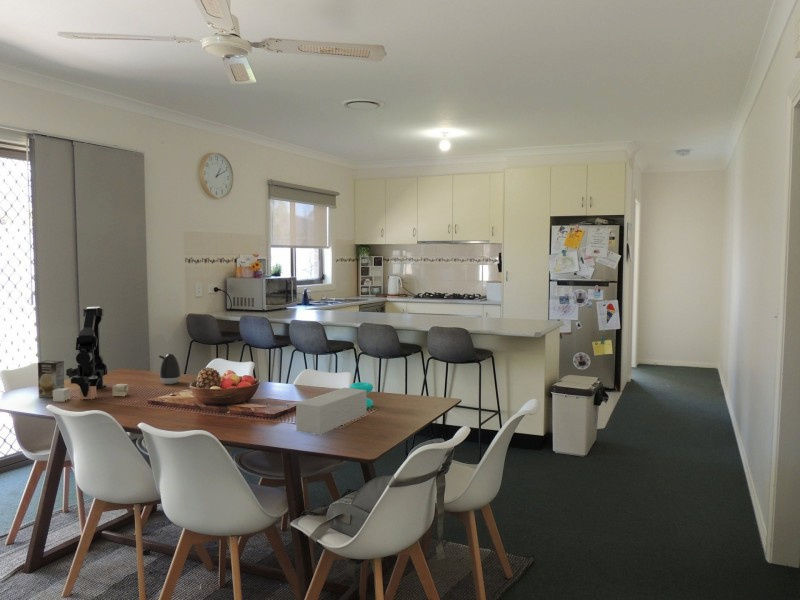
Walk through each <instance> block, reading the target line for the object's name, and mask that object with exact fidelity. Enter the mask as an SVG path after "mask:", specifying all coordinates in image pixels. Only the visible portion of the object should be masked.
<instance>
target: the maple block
mask: <svg viewBox="0 0 800 600" xmlns="http://www.w3.org/2000/svg"><path fill="white" fill-rule="evenodd" d="M127 394H128V395H129V383H116V384H115V385H112V397H113V396H124V397H126V396H128V395H127ZM125 395H126V396H125Z"/></svg>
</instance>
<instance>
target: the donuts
mask: <svg viewBox="0 0 800 600" xmlns="http://www.w3.org/2000/svg"><path fill="white" fill-rule="evenodd" d="M349 388H352V389H360V390H367V392H366V393H367V394H369V393H371V392H372V391H373V389H374V385H373V384H372V383H370V382H363V381H362V382H361V381H360V382H354V383H351V384H350V385H349ZM366 398H367V404H366V405H367V407H370V406H372V405H374V401H373V400H372V399H371V398H369V397H366ZM372 407H373V406H372ZM370 408H371V407H370Z"/></svg>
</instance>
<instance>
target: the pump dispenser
mask: <svg viewBox="0 0 800 600" xmlns="http://www.w3.org/2000/svg"><path fill="white" fill-rule="evenodd" d="M158 358H160V359H161V360H162V362H161V365H160V368H159V378H160V382H162V383H163V384H164V385H174V383H175V384H177V383H179V381H180V378H181V377H182V372H181V368H180V364H179V361H178V359H177V357H176V355H174V354H173V353H167V354H166V355H159V356H158Z"/></svg>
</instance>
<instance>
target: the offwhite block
mask: <svg viewBox="0 0 800 600" xmlns="http://www.w3.org/2000/svg"><path fill="white" fill-rule="evenodd" d="M67 399H69V400H71V389H70V387H66V388H65V387H64V388H58V389H55V390H53V398H52V401H53V402H66V401H68V400H67ZM65 400H66V401H65Z"/></svg>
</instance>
